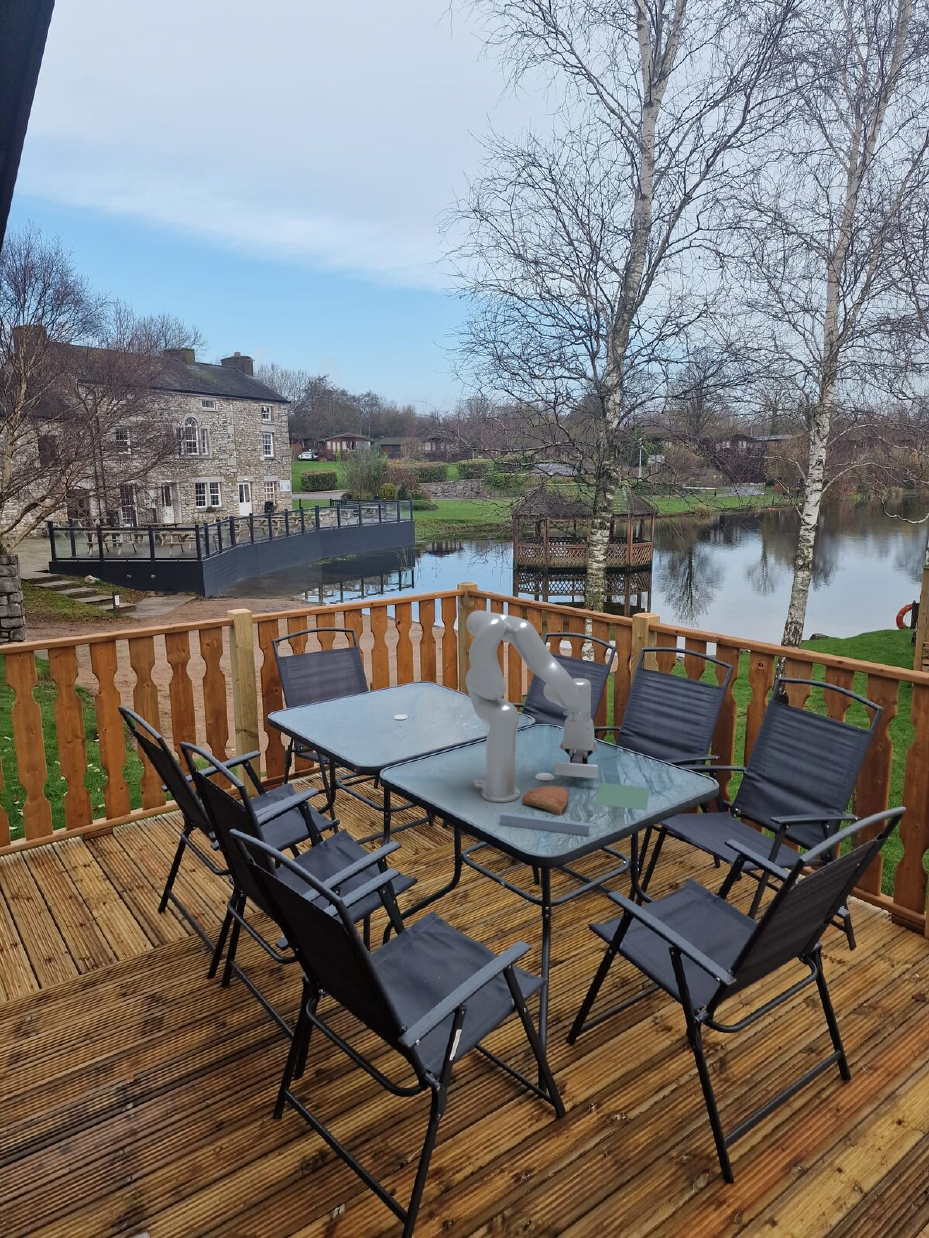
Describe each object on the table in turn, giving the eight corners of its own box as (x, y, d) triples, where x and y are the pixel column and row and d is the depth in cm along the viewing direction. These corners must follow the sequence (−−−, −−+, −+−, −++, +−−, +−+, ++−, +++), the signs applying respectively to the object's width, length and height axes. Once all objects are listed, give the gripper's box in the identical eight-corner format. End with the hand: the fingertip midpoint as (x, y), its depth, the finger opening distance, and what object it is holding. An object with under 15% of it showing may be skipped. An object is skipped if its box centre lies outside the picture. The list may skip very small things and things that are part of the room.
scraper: (554, 774, 252) (554, 760, 251) (561, 759, 264) (561, 746, 263) (597, 778, 248) (597, 763, 247) (601, 763, 260) (601, 749, 259)
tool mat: (594, 804, 238) (594, 803, 238) (600, 783, 255) (600, 782, 255) (646, 811, 233) (646, 810, 233) (649, 789, 250) (649, 788, 250)
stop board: (499, 824, 224) (500, 814, 224) (501, 821, 226) (501, 812, 225) (588, 835, 217) (588, 826, 216) (589, 832, 219) (589, 823, 218)
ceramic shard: (586, 787, 239) (559, 809, 228) (585, 805, 241) (558, 826, 230) (548, 770, 248) (520, 790, 237) (547, 787, 250) (519, 807, 239)
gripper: (553, 717, 252) (552, 769, 255) (602, 720, 247) (601, 773, 251) (556, 710, 259) (556, 761, 262) (605, 713, 254) (604, 765, 258)
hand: (578, 767), depth 256 cm, fingers closed on scraper, 3 cm apart
